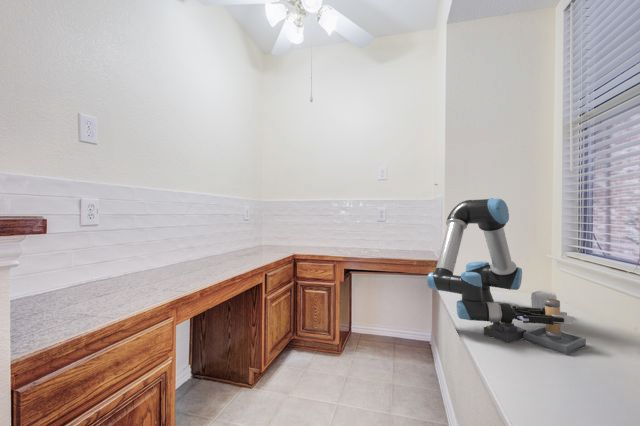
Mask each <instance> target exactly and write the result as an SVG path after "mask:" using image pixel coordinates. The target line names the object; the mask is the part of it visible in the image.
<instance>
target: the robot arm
mask: <svg viewBox="0 0 640 426" xmlns="http://www.w3.org/2000/svg"><path fill="white" fill-rule="evenodd" d="M509 212H510V211H509V207H508V205H507V203H506V202H505V201H504V200H503V199H502V198H484V199H468V200H463V201H461V202H459V203H458V204H457V205H455V206H454V208H452V210H451V211H450V213H449V214H448V216H447V218H446V222H445V224H446V230H445V234H444V238H443V241H442V245H441V248H440V252H439V257H438V259H437V263H436V268H435V270H434V271H433V272H429V273H428V274H427V276H426V284H427V287H428V288H429V289H431V290H434V291H438V292H439V291H441V292H445V293H454V294H458V295H461V300H457V301H456V314H457V317H458V318H459V319H461V320H466V321H480V322H489V323H490V324H493V322H502V323H513V320H517V321H520V322H522V323H524V324H537V325H538V324H540V325H546V324H551V325H553V323H560V324H569V325H574V324H575V316H574V315H568V312H567V311H562V310H560V315H552V316H551V315H545V308H542V310H541V308H532V307H526V306H515V305H512V306H511V304H510V303H505V302H504V303H503V302H499V303H498V302H495V300H494V297H493V294H492V293H491V288H498V289H504V290H505V289H506V290H510V291H511V290H512V291H513V290H515V291H517V290H519V289H520V288H521V285H522V279H523V268H522V267H518V266H517V264H516V263H515V261H513V260H512V258H511V254H510V249H509V246H508V242H507V241H508V240H507V237H506V232H505V229H504V228H505V226H506V225H507V223H508V222H509V220H510V213H509ZM469 224H474V225H475V224H477V225H478V228H479V230H481V231H483V235H484V239H485V241H486V245H487V246H486V247H487V249H488V252H489V257H490V260H491V264H490V262H489V261H471V262H467V264H466V265H465V271H463V272H461V273H460V275H456V274H455V275H454V271H455V269H456V268H455V267H456V265H457V264H456V263H457V258H458V256H459V255H458V254H459V250H460V247H461V244H462V240H463V235H464V231H465V230H466V229H467V228H468V225H469Z"/></svg>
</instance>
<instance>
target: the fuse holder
mask: <svg viewBox="0 0 640 426" xmlns="http://www.w3.org/2000/svg"><path fill="white" fill-rule="evenodd" d="M524 332H527V329H525V328H522V327H518V326H516V325H515V323H513V322H512V323H502V322H493V323H492V324H490V325H485V326H484V327H483V335H484V336H487V337H490V338H493V339H496V340H498V341H500V342H503V343H506V344H512V343H515V342H517V341H520V340H524V337H523V333H524Z"/></svg>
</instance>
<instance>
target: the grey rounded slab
mask: <svg viewBox="0 0 640 426" xmlns="http://www.w3.org/2000/svg"><path fill="white" fill-rule="evenodd" d="M545 299H555V300H558V299H557V295H556V293H554V292H552V291H549V290H537V291H534V292H532V293H531V299H530V300H531V308H541V310H542V308H545Z"/></svg>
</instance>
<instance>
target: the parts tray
mask: <svg viewBox="0 0 640 426" xmlns="http://www.w3.org/2000/svg"><path fill="white" fill-rule="evenodd" d="M523 337H524V338H523V341H525V342H527V343H529V344H533V345H536V346H538V347H542V348H545V349H547V348H548V349H547V350H550V349H551V350H550V351H554V352H557V353H560V354H561V355H564V356H565V355H566V356H568V355H570V354H572V353H573V354H574V353H575V352H576V351H579V350H580V349H581V350H582V349H583V348H586V347H587V341H586V340H587V339H586V337H583V336H580V335H576V334H572V333H569V332H566V331H562V330H561V339H551V338H548V337H547V336H546V325H545V326H544V325H542V326H538V327H536V328H533V329H530V330H526V332H524V333H523Z"/></svg>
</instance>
